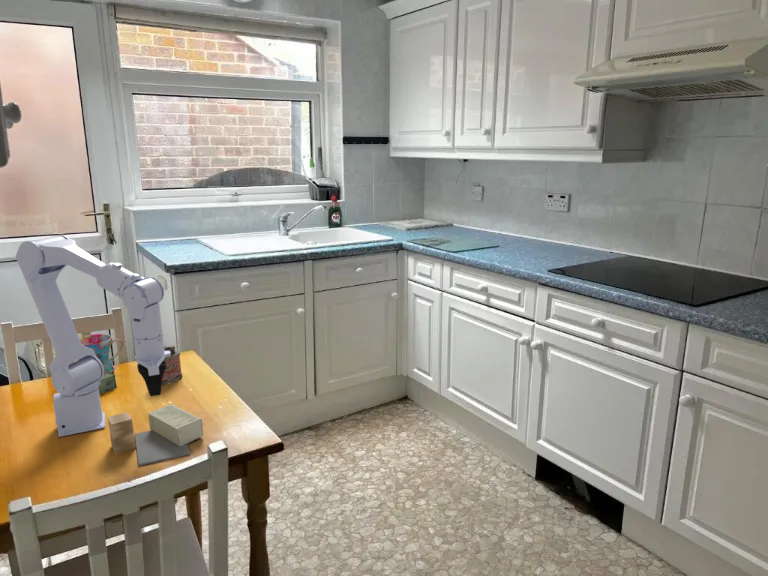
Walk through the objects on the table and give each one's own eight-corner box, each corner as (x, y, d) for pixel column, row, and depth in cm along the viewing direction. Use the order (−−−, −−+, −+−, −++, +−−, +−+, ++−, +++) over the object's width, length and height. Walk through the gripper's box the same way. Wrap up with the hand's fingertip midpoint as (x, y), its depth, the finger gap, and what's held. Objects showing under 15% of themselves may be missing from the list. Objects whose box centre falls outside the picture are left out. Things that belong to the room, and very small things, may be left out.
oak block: (115, 454, 121) (111, 424, 119) (111, 446, 124) (107, 417, 122) (135, 448, 123) (131, 418, 121) (131, 440, 126) (127, 412, 124)
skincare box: (149, 429, 130) (178, 448, 122) (147, 412, 129) (176, 429, 121) (174, 419, 135) (204, 436, 127) (173, 402, 133) (202, 418, 126)
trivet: (138, 466, 116) (138, 464, 116) (135, 435, 128) (134, 433, 128) (190, 454, 120) (189, 452, 120) (181, 425, 132) (181, 424, 132)
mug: (84, 384, 156) (78, 347, 153) (77, 373, 163) (72, 338, 160) (130, 373, 163) (126, 337, 160) (122, 363, 170) (117, 329, 167)
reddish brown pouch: (177, 374, 161) (174, 341, 159) (185, 377, 160) (181, 343, 157) (152, 384, 155) (147, 349, 153) (159, 387, 153) (155, 352, 151)
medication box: (112, 386, 155) (109, 372, 154) (117, 388, 153) (115, 374, 153) (67, 402, 145) (65, 388, 144) (73, 405, 144) (70, 390, 143)
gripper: (171, 342, 117) (178, 403, 120) (164, 323, 129) (170, 378, 133) (134, 348, 114) (142, 410, 117) (130, 327, 126) (138, 384, 130)
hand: (155, 394), depth 125 cm, fingers closed
